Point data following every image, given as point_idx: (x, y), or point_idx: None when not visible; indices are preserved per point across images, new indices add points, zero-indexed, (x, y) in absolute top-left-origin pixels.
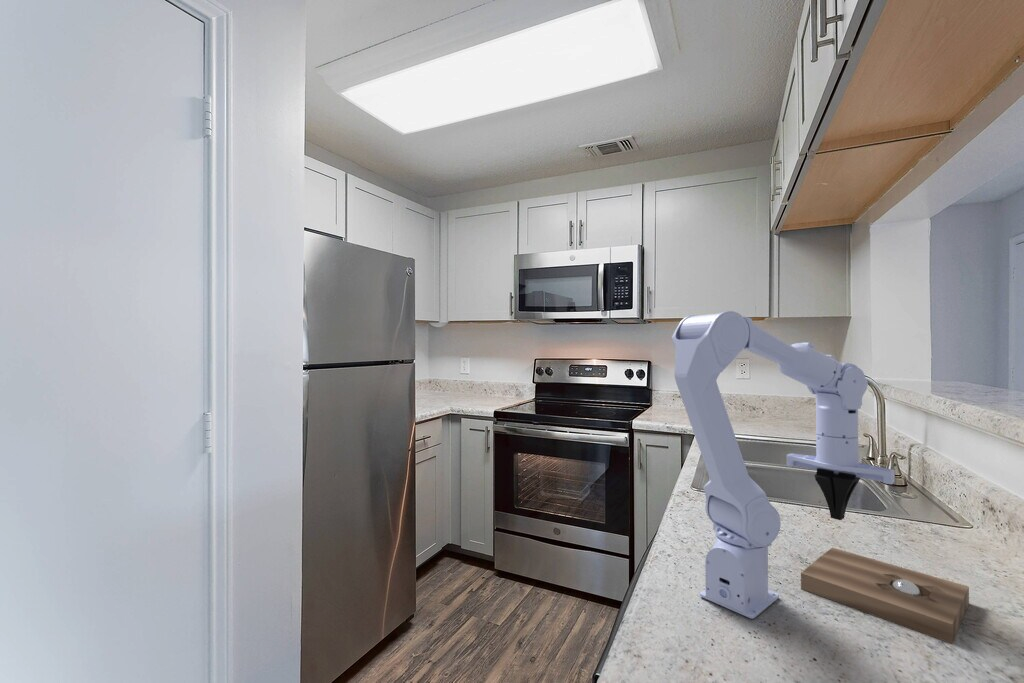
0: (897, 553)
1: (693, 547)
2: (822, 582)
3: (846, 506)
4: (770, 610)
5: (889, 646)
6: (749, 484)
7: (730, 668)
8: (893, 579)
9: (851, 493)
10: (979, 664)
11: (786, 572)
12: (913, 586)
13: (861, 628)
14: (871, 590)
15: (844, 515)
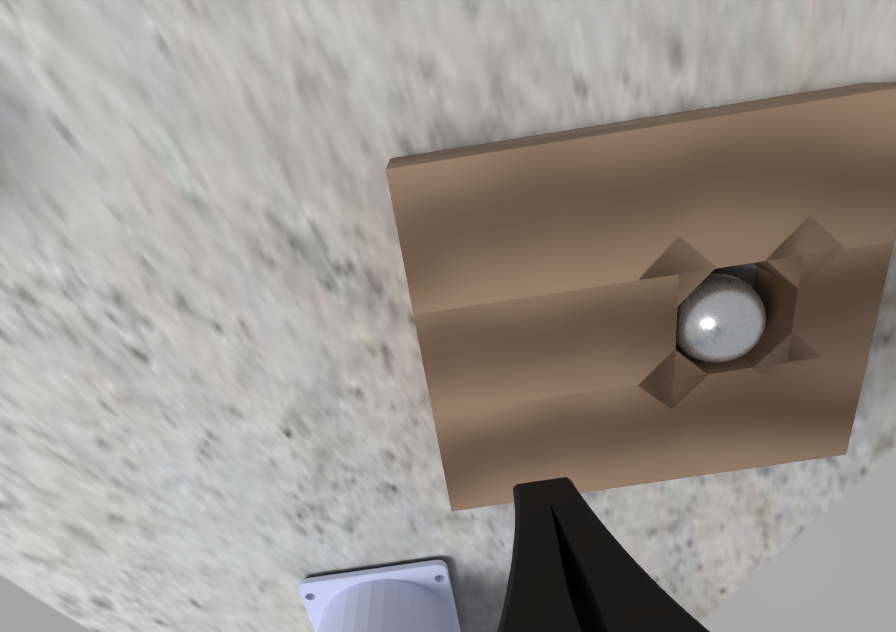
0: None
1: (66, 510)
2: None
3: (603, 525)
4: (464, 610)
5: (694, 537)
6: None
7: None
8: (679, 294)
9: (687, 618)
10: (852, 455)
11: (358, 412)
12: (757, 340)
13: (632, 521)
14: (644, 444)
15: (575, 488)
